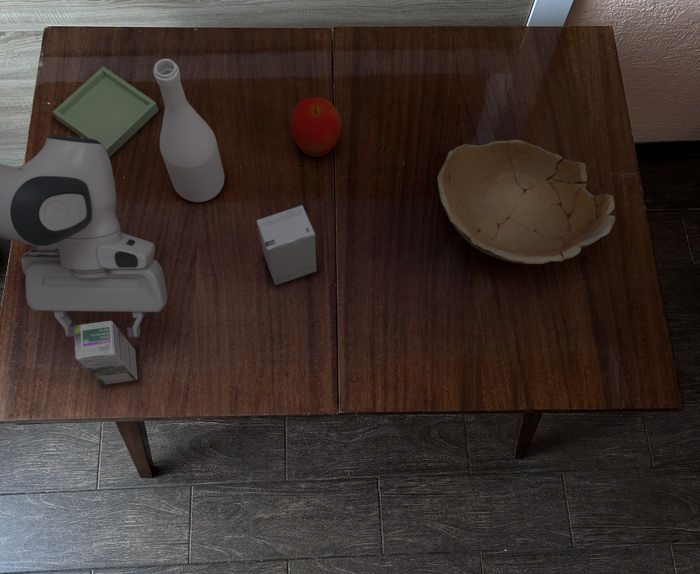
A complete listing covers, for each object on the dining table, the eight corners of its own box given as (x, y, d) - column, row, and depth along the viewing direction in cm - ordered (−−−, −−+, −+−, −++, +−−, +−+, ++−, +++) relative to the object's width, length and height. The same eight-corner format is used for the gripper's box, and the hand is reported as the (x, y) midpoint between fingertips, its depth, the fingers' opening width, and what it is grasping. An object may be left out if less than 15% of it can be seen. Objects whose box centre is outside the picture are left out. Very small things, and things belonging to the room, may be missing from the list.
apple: (344, 163, 131) (347, 123, 120) (298, 171, 130) (296, 132, 119) (333, 122, 134) (334, 79, 123) (287, 131, 133) (284, 88, 122)
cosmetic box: (306, 245, 125) (304, 201, 111) (317, 273, 124) (317, 233, 110) (262, 259, 124) (254, 217, 110) (273, 288, 122) (267, 249, 108)
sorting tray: (109, 157, 130) (105, 150, 127) (56, 119, 132) (52, 111, 130) (158, 110, 134) (156, 102, 131) (106, 74, 136) (103, 65, 134)
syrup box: (136, 348, 118) (111, 317, 104) (138, 381, 116) (114, 354, 102) (101, 353, 117) (72, 322, 103) (103, 387, 115) (74, 360, 102)
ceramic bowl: (562, 134, 133) (593, 94, 118) (601, 268, 129) (638, 244, 115) (411, 164, 131) (424, 127, 116) (447, 302, 127) (464, 282, 112)
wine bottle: (166, 197, 127) (121, 84, 99) (184, 154, 130) (145, 34, 102) (215, 210, 127) (184, 101, 99) (232, 167, 130) (207, 49, 102)
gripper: (9, 255, 98) (27, 343, 104) (155, 257, 99) (164, 345, 105) (27, 241, 104) (42, 326, 110) (165, 244, 104) (173, 327, 111)
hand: (103, 335), depth 107 cm, fingers open, 8 cm apart
